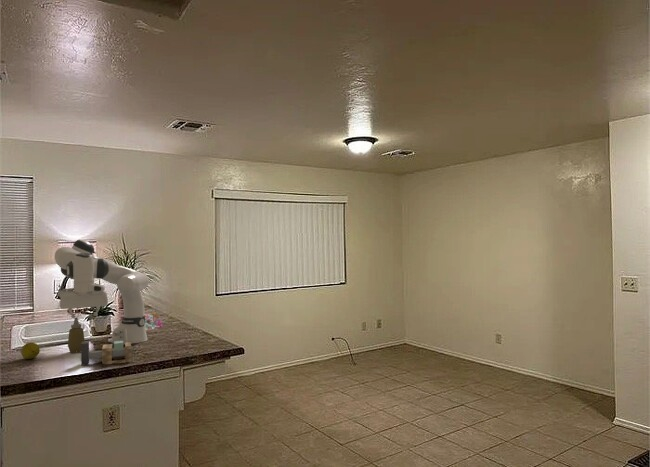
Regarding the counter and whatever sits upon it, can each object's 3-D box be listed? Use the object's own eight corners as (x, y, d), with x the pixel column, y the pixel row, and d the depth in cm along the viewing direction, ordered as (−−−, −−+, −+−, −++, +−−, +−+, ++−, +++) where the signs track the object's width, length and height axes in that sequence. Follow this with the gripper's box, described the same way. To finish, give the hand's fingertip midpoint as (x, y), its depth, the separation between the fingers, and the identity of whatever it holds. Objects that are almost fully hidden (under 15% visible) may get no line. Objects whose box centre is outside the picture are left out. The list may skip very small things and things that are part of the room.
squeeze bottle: (87, 349, 250) (87, 316, 250) (80, 353, 242) (80, 318, 242) (72, 350, 250) (72, 316, 250) (64, 354, 242) (64, 319, 242)
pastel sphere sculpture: (126, 326, 318) (126, 312, 318) (162, 323, 325) (162, 310, 325) (122, 333, 294) (122, 318, 294) (161, 330, 302) (161, 315, 302)
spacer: (114, 351, 224) (113, 343, 224) (114, 348, 229) (114, 341, 229) (123, 350, 226) (123, 342, 226) (123, 347, 230) (123, 340, 230)
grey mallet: (81, 365, 219) (81, 343, 219) (82, 362, 223) (82, 341, 223) (133, 359, 227) (133, 339, 227) (133, 357, 232) (133, 337, 232)
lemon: (21, 357, 235) (20, 341, 235) (39, 355, 240) (39, 339, 240) (21, 362, 226) (20, 346, 226) (39, 360, 231) (39, 343, 231)
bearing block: (102, 364, 220) (102, 348, 220) (103, 360, 229) (103, 344, 229) (131, 361, 225) (130, 346, 225) (131, 357, 233) (130, 342, 233)
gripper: (58, 289, 215) (58, 319, 215) (107, 287, 223) (107, 316, 222) (60, 288, 221) (60, 317, 220) (107, 285, 228) (108, 314, 228)
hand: (84, 316), depth 222 cm, fingers open, 8 cm apart
